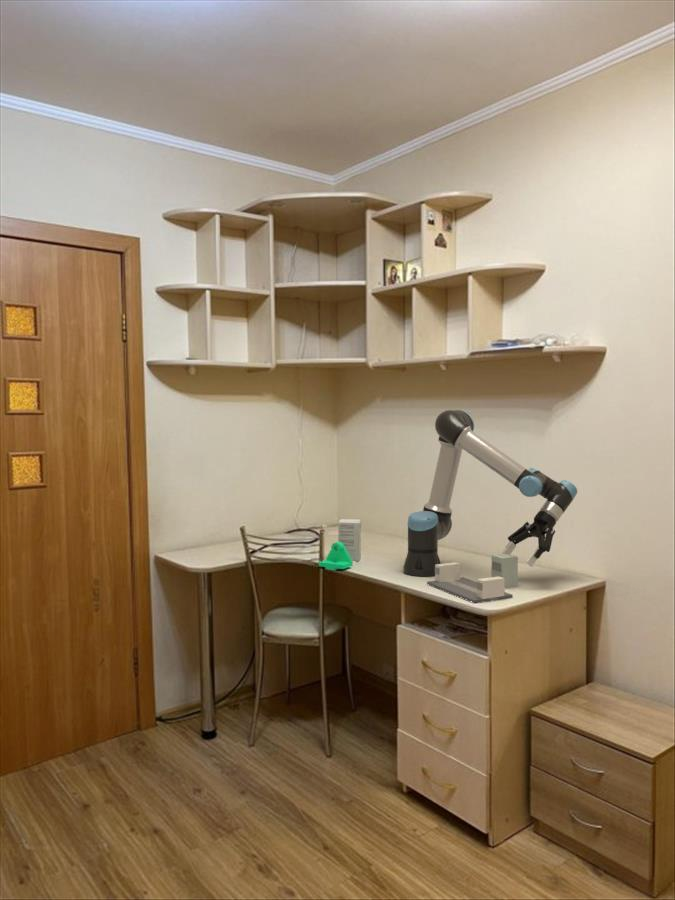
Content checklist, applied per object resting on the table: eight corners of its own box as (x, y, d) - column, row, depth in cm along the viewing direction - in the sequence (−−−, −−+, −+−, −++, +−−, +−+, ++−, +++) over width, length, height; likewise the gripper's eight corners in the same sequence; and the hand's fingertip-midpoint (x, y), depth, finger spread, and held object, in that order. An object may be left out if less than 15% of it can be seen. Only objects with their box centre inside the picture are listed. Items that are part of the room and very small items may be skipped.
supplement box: (339, 557, 299) (339, 518, 298) (360, 557, 298) (361, 519, 297) (338, 561, 289) (338, 522, 289) (359, 562, 289) (359, 522, 288)
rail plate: (427, 584, 251) (427, 565, 250) (463, 579, 258) (463, 561, 257) (474, 603, 225) (474, 582, 225) (512, 597, 232) (512, 577, 232)
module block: (490, 585, 249) (490, 555, 249) (506, 583, 253) (506, 553, 252) (501, 589, 244) (501, 558, 243) (517, 586, 247) (517, 556, 247)
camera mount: (317, 568, 278) (317, 543, 277) (327, 565, 284) (327, 540, 284) (343, 571, 272) (343, 546, 271) (352, 568, 278) (352, 543, 278)
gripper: (578, 527, 245) (546, 574, 239) (530, 518, 267) (499, 560, 261) (567, 514, 242) (534, 560, 236) (519, 505, 265) (488, 548, 259)
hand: (515, 560), depth 249 cm, fingers open, 13 cm apart
